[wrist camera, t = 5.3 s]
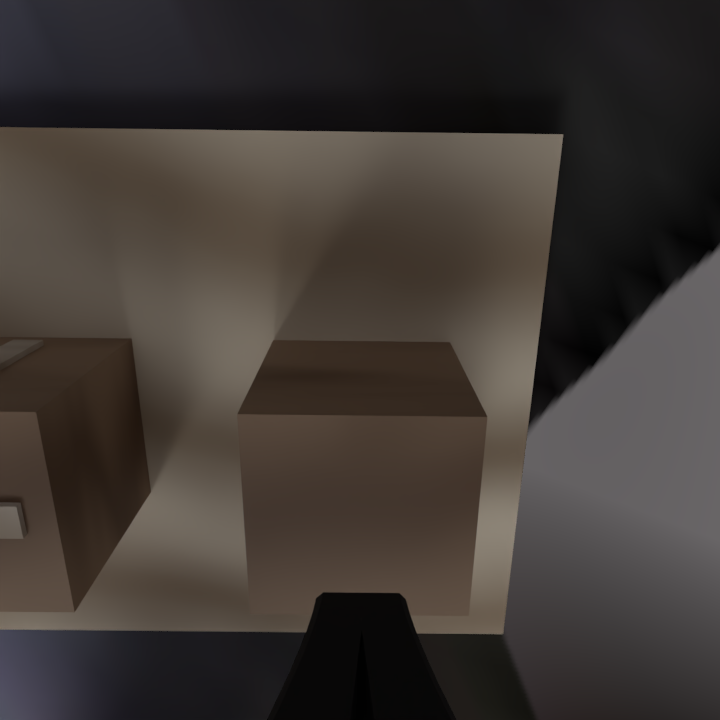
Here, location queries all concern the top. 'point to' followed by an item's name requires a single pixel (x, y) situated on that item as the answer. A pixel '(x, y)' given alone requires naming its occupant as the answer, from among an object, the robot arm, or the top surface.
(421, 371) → the plain block
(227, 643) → the top surface
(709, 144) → the top surface
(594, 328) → the top surface
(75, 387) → the one bar block
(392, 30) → the top surface
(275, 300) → the board
